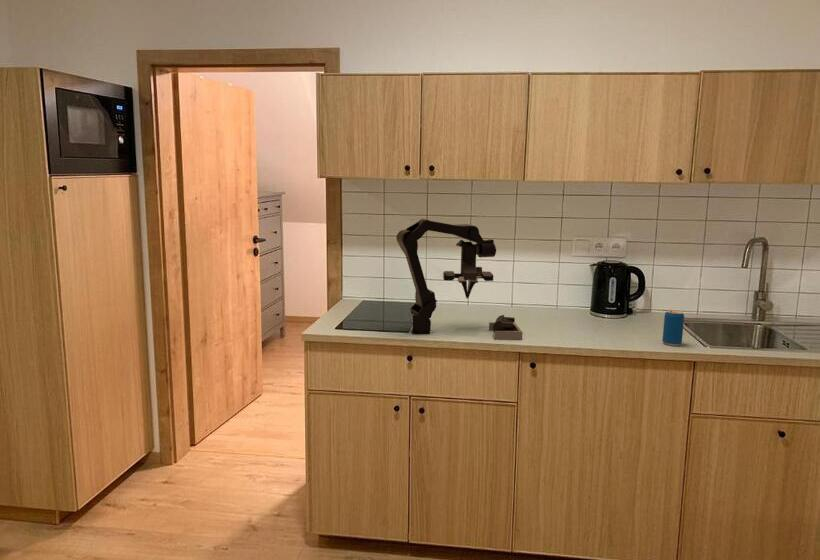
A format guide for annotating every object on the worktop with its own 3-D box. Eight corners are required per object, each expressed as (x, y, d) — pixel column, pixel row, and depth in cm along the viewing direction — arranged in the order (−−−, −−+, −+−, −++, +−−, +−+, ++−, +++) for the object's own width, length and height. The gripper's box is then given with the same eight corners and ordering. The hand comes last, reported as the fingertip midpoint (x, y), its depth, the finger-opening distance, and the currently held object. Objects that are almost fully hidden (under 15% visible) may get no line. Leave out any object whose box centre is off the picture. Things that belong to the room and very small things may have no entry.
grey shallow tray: (494, 339, 231) (495, 331, 230) (488, 329, 245) (489, 322, 244) (522, 339, 231) (522, 331, 231) (514, 330, 245) (514, 322, 245)
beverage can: (670, 340, 234) (673, 308, 231) (685, 345, 228) (688, 312, 226) (658, 342, 231) (661, 310, 228) (673, 347, 225) (676, 314, 223)
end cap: (495, 331, 243) (496, 314, 242) (514, 332, 241) (514, 315, 240) (492, 338, 234) (493, 320, 232) (511, 339, 232) (512, 321, 231)
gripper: (445, 260, 233) (444, 302, 236) (496, 261, 234) (494, 302, 237) (443, 256, 244) (442, 296, 247) (491, 257, 245) (490, 296, 248)
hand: (467, 298), depth 244 cm, fingers closed
